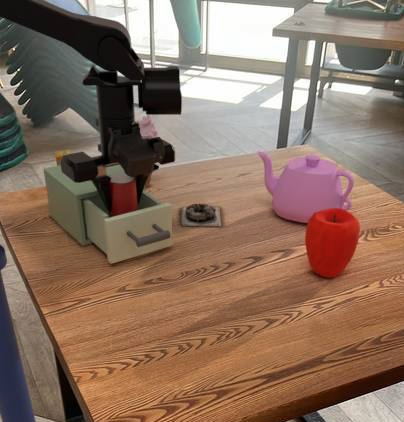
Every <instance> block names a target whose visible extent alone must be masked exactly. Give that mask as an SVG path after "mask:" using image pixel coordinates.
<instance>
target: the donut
mask: <svg viewBox="0 0 404 422" xmlns="http://www.w3.org/2000/svg"><path fill="white" fill-rule="evenodd" d="M180 221H181V225H182V226H183V227H222V224H221V209H220V207H219V206H215V207H214V206H212V205H211V204H208V203H203V202H202V203H199V202H198V203H192V204H190V205H188V206H182V208H181V220H180Z"/></svg>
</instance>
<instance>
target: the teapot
mask: <svg viewBox="0 0 404 422" xmlns="http://www.w3.org/2000/svg"><path fill="white" fill-rule="evenodd" d="M256 154H257V155H258V156H259V157H260V158H261V160H262V163H263V167H264V172H263V173H264V175H263V178H264V186H265V189H266V190H267V192H268V193H269V194H270V196H272V198H271V205H272V208H273V210H274V212H275V214H277V216H278V217H281V218H283V219H285V220H287V221H294V222H297V223H298V222H299V223H303V224H304V223H305V224H308V220H309V219H310V217H311V216H312V215H313V213H314V212H318V211H321V210H325V209H331V208H339V209H342V210H346V211H349V210H351V208H352V206H353V203H352V202H353V201H352V200H351V199H350V198H348V196H350V194H351V192H352V190H353V188H354V184H355V179H354V176H353V175H352V174H351V173H350V172H349V171H347V170H339V169H338V165H337V164H336V163H335V162H333V161H331V160H327V159H322V157H321V156H320V155H318V154H311V153H310V154H306V155H305V156H304V157H300V156H299V157H293V158H291V159H290V160H289V161H288V162H287V164H286V165H285V167H284V168H283V170H282V172H281V174H280V175H279V177H278V178H277V176H276V175H275V174H274V170H273V169H274V168H273V161H272V158H271V157H270V156H269V155H268V154H267V153H264V152H262V151H259V150H257V151H256ZM341 177H345V178H346V179H347V180H348V185H347V188H346V190H345V191H344V193H343V187H342V186H343V185H342V180H341ZM345 203H347V205H346V204H345Z"/></svg>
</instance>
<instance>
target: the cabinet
mask: <svg viewBox="0 0 404 422" xmlns="http://www.w3.org/2000/svg"><path fill="white" fill-rule="evenodd" d="M42 171H43V175H44V183H45V188H46V194H47V195H46V196H47V201H48V208H49V214H50V217H51V218H52V219H53V220H54V221H55V222H56V223H57V224H58V225H59V226H61V227H62V228H63V229H64V231H66V232H67V233H68V234H69V235H70V236H71V237H72V238H73V239H75V240H76V241H77V243H79V244H80V245H81V246H82V247H84V246H87V245H91V244H94V243H93V242H92V241H91V240H90V239H89V238H88V237H87V236H86V235H85V228H84V220H83V211H82V203H81V199H83V198H87V197H91V196H95V195H99V193H98V191H97V189H96V187H95V186H94V184H93V183H92V181H86V182H81V183H76V182H74V181H72V180H71V179H70V178H69V177H67V176H66V175H65V174H64V173H62V171H61V165H59V166H57V165H55V166H50V167H45V168H43V170H42ZM118 173H125V172H124V170H123V168H122V167H121V166H120V165H115V166H110V167H106V175H108V176H110V175H113V174H118ZM143 190H144V191H146V188H145V186H144V189H143Z"/></svg>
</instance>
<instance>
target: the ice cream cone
mask: <svg viewBox="0 0 404 422" xmlns="http://www.w3.org/2000/svg"><path fill="white" fill-rule="evenodd" d="M136 122H137V123H139V127H140V133H141V136H142V139H146V138H148V139H150V138H155V137H158V134H159V133H158V129H159V128H158V127H157V126H156V125H155V122H153V116H152V115H146V116H145V115H143V116H142V120H138V119H137V120H136ZM152 177H153V172H152V173H151V174H150V175H149V176H148V179H147V181H146V183H145V189H147V188H149V187H150V184H151V180H152Z"/></svg>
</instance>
